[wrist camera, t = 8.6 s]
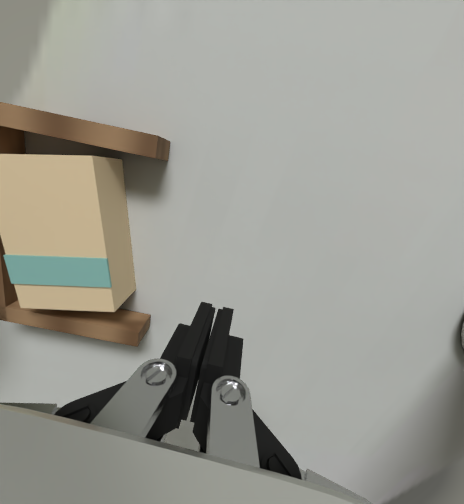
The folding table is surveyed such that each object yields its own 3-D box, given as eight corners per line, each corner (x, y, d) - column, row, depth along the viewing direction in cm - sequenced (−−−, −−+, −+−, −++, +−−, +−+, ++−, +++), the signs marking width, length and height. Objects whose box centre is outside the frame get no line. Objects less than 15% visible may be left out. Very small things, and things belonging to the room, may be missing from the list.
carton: (124, 159, 21) (91, 155, 16) (137, 287, 24) (114, 313, 20) (32, 157, 21) (-26, 153, 16) (59, 284, 24) (18, 308, 20)
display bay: (170, 141, 20) (157, 135, 17) (149, 327, 25) (137, 346, 22) (4, 106, 19) (-38, 93, 16) (19, 301, 25) (-10, 318, 22)
